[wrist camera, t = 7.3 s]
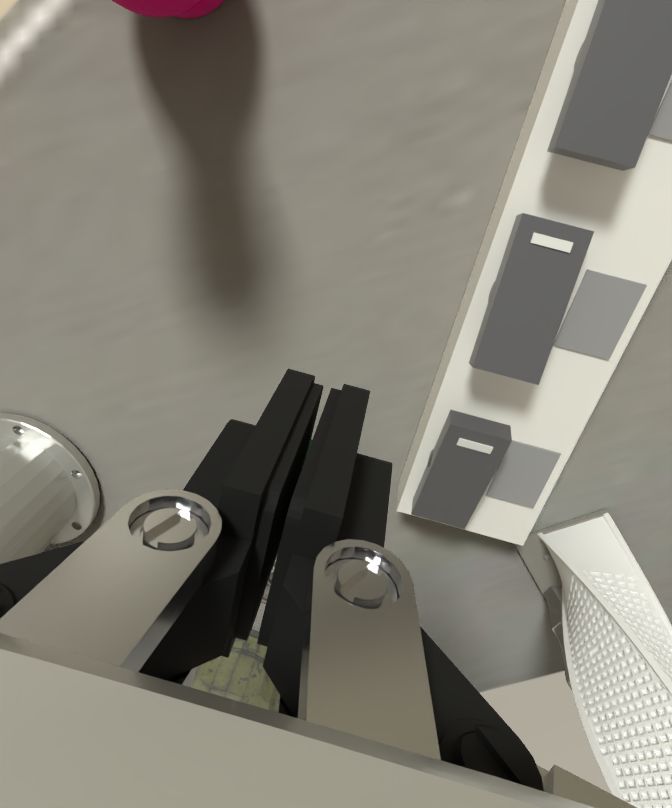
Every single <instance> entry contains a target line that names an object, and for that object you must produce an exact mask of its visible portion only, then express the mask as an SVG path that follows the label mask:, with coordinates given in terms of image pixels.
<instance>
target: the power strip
mask: <svg viewBox="0 0 672 808" xmlns="http://www.w3.org/2000/svg"><path fill="white" fill-rule="evenodd" d="M597 3H598V0H566V3H565V5H564V8H563V11H562V14H561V17H560V20H559V23H558V26H557V28H556V31H555V34H554V37H553V40H552V43H551V46H550V49H549V52H548V54H547V57H546V60H545V63H544V66H543V69H542V72H541V75H540V77H539V80H538V83H537V86H536V89H535V92H534V95H533V98H532V100H531V103H530V106H529V109H528V112H527V115H526V118H525V121H524V124H523V126H522V129H521V132H520V135H519V138H518V141H517V144H516V147H515V149H514V152H513V155H512V158H511V161H510V164H509V167H508V170H507V172H506V175H505V178H504V181H503V184H502V187H501V190H500V193H499V196H498V198H497V201H496V204H495V207H494V210H493V213H492V216H491V219H490V221H489V224H488V227H487V230H486V233H485V236H484V239H483V242H482V244H481V247H480V250H479V253H478V256H477V259H476V262H475V265H474V268H473V270H472V273H471V276H470V279H469V282H468V285H467V288H466V291H465V293H464V296H463V299H462V302H461V305H460V308H459V311H458V314H457V316H456V319H455V322H454V325H453V328H452V331H451V334H450V337H449V339H448V342H447V345H446V348H445V351H444V354H443V357H442V360H441V363H440V365H439V368H438V371H437V374H436V377H435V380H434V383H433V386H432V388H431V391H430V394H429V397H428V400H427V403H426V406H425V409H424V411H423V414H422V417H421V420H420V423H419V426H418V429H417V432H416V435H415V437H414V440H413V443H412V446H411V449H410V452H409V455H408V458H407V460H406V463H405V466H404V469H403V472H402V475H401V478H400V481H399V489H398V501H397V511H399V512H402V513H406V514H409V515H411V511H412V501H413V497H414V495H415V492H416V490H417V488H418V485H419V483H420V481H421V478H422V476H423V473H424V471H425V469H426V466H427V464H428V459H429V455H430V453H431V450H432V449H434V447H435V445H436V443H437V440H438V438H439V436H440V433H441V431H442V428H443V426H444V424H445V421H446V419H447V417H448V414H449V412H450V409H451V410H454V411H458V412H462V413H465V414H469V415H473V416H476V417H480V418H484V419H488V420H491V421H495V422H499V423H502V424H506V425H510V427H511V437H512V442H511V444H510V446H509V448H508V449H507V451H506V453H505V455H504V457H503V459H502V461H501V462H500V464H499V466H498V468H497V470H496V472H495V474H494V475H493V477H492V479H491V481H490V483H489V485H488V487H487V488H486V490H485V492H484V494H483V496H482V498H481V500H480V501H479V503H478V505H477V507H476V509H475V511H474V513H473V514H472V516H471V518H470V520H469V522H468V524H467V526H466V527H465V529H464V530H467V531H471V532H475V533H478V534H482V535H485V536H489V537H493V538H496V539H500V540H503V541H507V542H511V543H514V544H518V545H522V546H523V545H524V543H525V541H526V539H527V537H528V535H529V533H530V531H531V529H532V528H533V526H534V524H535V522H536V520H537V518H538V516H539V514H540V512H541V510H542V508H543V506H544V504H545V502H546V501H547V499H548V497H549V495H550V493H551V491H552V489H553V487H554V485H555V483H556V481H557V479H558V477H559V476H560V474H561V472H562V470H563V468H564V466H565V464H566V462H567V460H568V458H569V456H570V454H571V452H572V450H573V449H574V447H575V445H576V443H577V441H578V439H579V437H580V435H581V433H582V431H583V429H584V427H585V425H586V423H587V422H588V420H589V418H590V416H591V414H592V412H593V410H594V408H595V406H596V404H597V402H598V400H599V398H600V397H601V395H602V393H603V391H604V389H605V387H606V385H607V383H608V381H609V379H610V377H611V375H612V373H613V371H614V370H615V368H616V366H617V364H618V362H619V360H620V358H621V356H622V354H623V352H624V350H625V348H626V346H627V344H628V343H629V341H630V339H631V337H632V335H633V333H634V331H635V329H636V327H637V325H638V323H639V321H640V319H641V318H642V316H643V314H644V312H645V310H646V308H647V306H648V304H649V302H650V300H651V298H652V296H653V294H654V292H655V291H656V289H657V287H658V285H659V283H660V281H661V279H662V277H663V275H664V273H665V271H666V269H667V267H668V265H669V264H670V262H671V260H672V75H671V77H670V80H669V82H668V85H667V87H666V90H665V93H664V95H663V98H662V100H661V103H660V105H659V108H658V110H657V113H656V116H655V118H654V121H653V123H652V126H651V128H650V131H649V134H648V136H647V139H646V141H645V144H644V146H643V149H642V151H641V154H640V157H639V159H638V162H637V164H636V167H635V168H632V169H628V170H624V171H621V170H618V169H614V168H610V167H606V166H602V165H598V164H594V163H590V162H586V161H582V160H579V159H575V158H571V157H567V156H563V155H559V154H555V153H551V152H547V150H548V147H549V144H550V141H551V138H552V135H553V132H554V129H555V126H556V123H557V120H558V117H559V115H560V112H561V109H562V106H563V103H564V100H565V97H566V94H567V91H568V88H569V85H570V82H571V79H572V76H573V73H574V64H575V61H576V58H577V55H578V52H579V50H580V48H581V46H582V44H583V42H584V41H585V38H586V35H587V32H588V29H589V26H590V23H591V20H592V17H593V15H594V12H595V9H596V6H597ZM521 213H525V214H529V215H533V216H537V217H540V218H544V219H548V220H552V221H556V222H560V223H564V224H567V225H571V226H575V227H579V228H583V229H587V230H591V231H594V234H593V236H592V239H591V242H590V245H589V247H588V250H587V253H586V256H585V258H584V261H583V264H582V267H581V270H580V272H579V275H578V278H577V281H576V283H575V286H574V289H573V292H572V294H571V297H570V300H569V303H568V305H567V308H566V311H565V314H564V316H563V319H562V322H561V325H560V328H559V330H558V333H557V336H556V339H555V341H554V344H553V347H552V350H551V352H550V355H549V358H548V361H547V363H546V366H545V369H544V372H543V374H542V377H541V380H540V383H539V385H536V384H533V383H529V382H525V381H521V380H518V379H514V378H510V377H506V376H503V375H499V374H495V373H492V372H488V371H484V370H480V369H477V368H473V367H472V366H471V365H470V364H469V361H470V358H471V354H472V351H473V348H474V345H475V342H476V339H477V336H478V333H479V330H480V327H481V324H482V320H483V317H484V314H485V311H486V308H487V305H488V298H489V293H490V290H491V288H492V285H493V283H494V282H495V280H496V277H497V274H498V271H499V268H500V265H501V262H502V259H503V256H504V253H505V249H506V246H507V243H508V240H509V237H510V234H511V231H512V228H513V225H514V222H515V219H516V216H517V215H519V214H521ZM413 516H415V515H413ZM417 517H418V516H417ZM420 518H422V517H420ZM424 519H426V518H424ZM428 520H429V519H428ZM431 521H433V520H431ZM435 522H436V521H435ZM438 523H440V522H438ZM442 524H444V523H442ZM446 525H447V524H446ZM449 526H451V525H449ZM453 527H455V526H453ZM456 528H458V527H456ZM460 529H462V528H460Z"/></svg>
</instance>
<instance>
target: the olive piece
mask: <svg viewBox="0 0 672 808" xmlns="http://www.w3.org/2000/svg"><path fill="white" fill-rule="evenodd" d="M258 636H259V632H257V631H255V630H252V629H251V632H250V635H249V638H248V640H247V641H245V640H242V639H238V638H236V639H235V641H234V644H233V647H232V649H231V652H230V655H229V658H227V657H224V656H220V657H218V658H215V659H213V660H211V661H209V662H206V663H204V664H202V665H200V666H199V671H198V674H197V676H196V679H195V681H194V683H193V685H192V687H191V688H194V689H198V690H201V691H205V692H208V693H212V694H215V695H219V696H222V697H225V698H229V699H232V700H236V701H239V702H243V703H246V704H250V705H253V706H257V707H260V708H264V709H267V710H270V711H275V704H276V700H277V697H278V691H277V689H276V688H275V686H274V684H273V683H272V681H271V679H270V678H269V676H268V674H267V673H266V671H265V670H264V668H263V663H264V659H265V655H266V651H267V647H266V646H263V645H259V644H257V641H258Z"/></svg>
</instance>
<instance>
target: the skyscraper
mask: <svg viewBox="0 0 672 808" xmlns="http://www.w3.org/2000/svg"><path fill="white" fill-rule="evenodd" d="M515 546H516V548H517V549H518V551H519V553H520V555H521V556H522V558H523V560H524V562H525V564H526V565H527V567H528V569H529V571H530V573H531V574H532V576H533V578H534V580H535V581H536V583H537V585H538V587H539V589H540V590H541V592H542V594H543V596H544V597H545V599H546V601H547V603H548V607H549V614H550V621H551V627H552V630H553V632H554V634H555V635H556V637H557V638H558V641H559V645H560V650H561V655H562V660H563V665H564V670H565V675H566V680H567V683H568V685H569V687H570V688H571V690H572V691H573V694H574V698H575V702H576V706H577V709H578V712H579V715H580V718H581V721H582V725H583V727H584V730H585V733H586V735H587V738H588V741H589V743H590V746H591V749H592V751H593V754H594V756H595V758H596V760H597V763H598V765H599V767H600V769H601V772H602V774H603V775H604V778H605V780H606V782H607V784H608V786H609V789H610V790H611V792H612V795H614V796H616V797H618V798H620V799H622V800H623V801H625V802H627V803H629V804H631V805H633V806H635V807H637V808H672V625H671V623H670V621H669V619H668V617H667V615H666V613H665V612H664V610H663V608H662V606H661V604H660V602H659V600H658V598H657V597H656V595H655V593H654V591H653V589H652V588H651V586H650V584H649V582H648V580H647V579H646V577H645V575H644V573H643V571H642V569H641V568H640V566H639V564H638V563H637V561H636V559H635V557H634V556H633V554H632V552H631V550H630V549H629V547H628V545H627V544H626V542H625V540H624V538H623V537H622V535H621V533H620V531H619V530H618V528H617V526H616V525H615V523H614V521H613V519H612V518H611V516H610V514H609V513H608V512H607V510H606V509H603V510H600V511H597V512H594V513H591V514H588V515H585V516H582V517H579V518H576V519H573V520H570V521H567V522H564V523H560V524H557V525H554V526H551V527H548V528H545V529H542V530H539V531H536V532H533V533H530V534H529V535H528V537H527V539H526V541H525V543H524V545H523V546H522V545H518V544H515Z"/></svg>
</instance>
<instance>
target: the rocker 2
mask: <svg viewBox="0 0 672 808" xmlns="http://www.w3.org/2000/svg"><path fill="white" fill-rule="evenodd" d="M671 75H672V0H598V3H597V6H596V9H595V12H594V15H593V17H592V20H591V23H590V26H589V29H588V32H587V35H586V38H585V41H584V42H583V44H582V46H581V48H580V50H579V52H578V55H577V58H576V61H575V64H574V73H573V76H572V79H571V82H570V85H569V88H568V91H567V94H566V97H565V100H564V103H563V106H562V109H561V112H560V115H559V117H558V120H557V123H556V126H555V129H554V132H553V135H552V138H551V141H550V144H549V147H548V150H547V152H551V153H555V154H559V155H563V156H567V157H571V158H575V159H579V160H582V161H586V162H590V163H594V164H598V165H602V166H606V167H610V168H614V169H618V170H621V171H624V170H628V169H632V168H635V167H636V164H637V162H638V159H639V157H640V154H641V151H642V149H643V146H644V144H645V141H646V139H647V136H648V134H649V131H650V128H651V126H652V123H653V121H654V118H655V116H656V113H657V110H658V108H659V105H660V103H661V100H662V98H663V95H664V93H665V90H666V87H667V85H668V82H669V80H670V77H671Z"/></svg>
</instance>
